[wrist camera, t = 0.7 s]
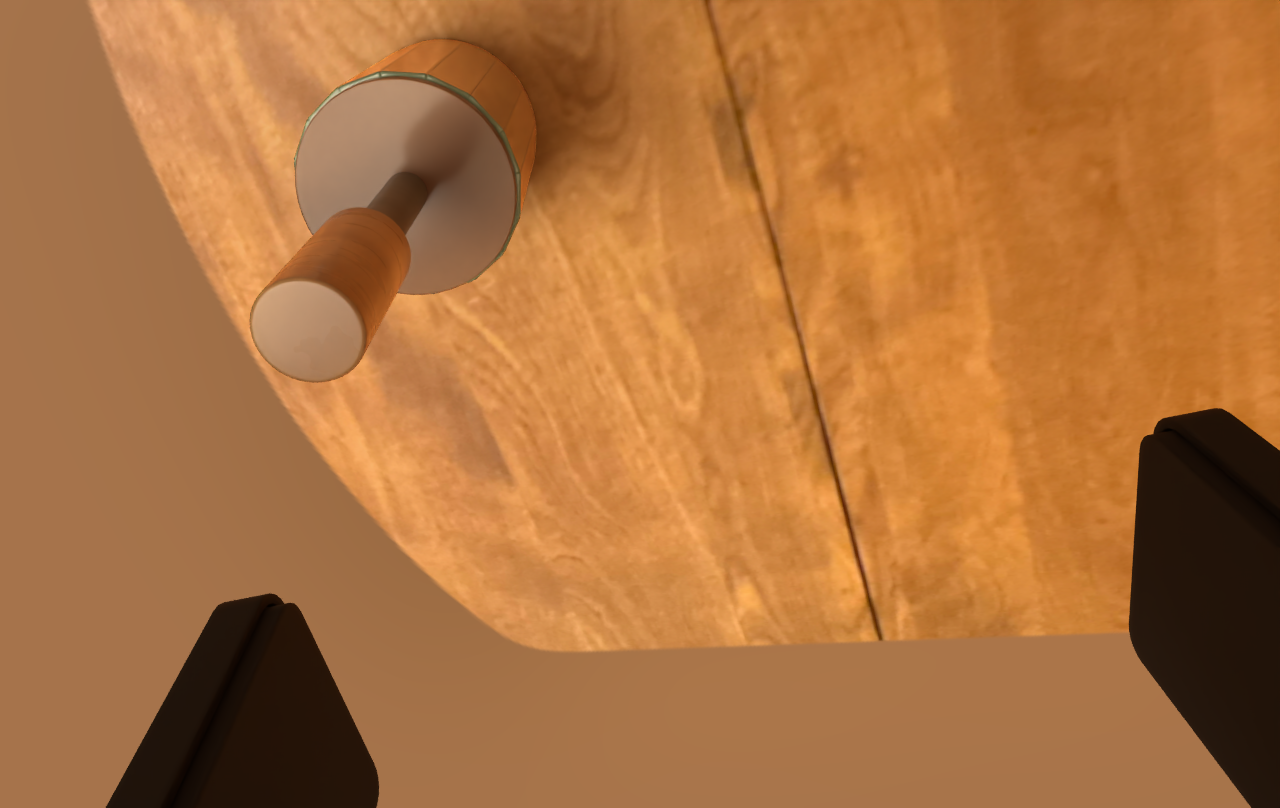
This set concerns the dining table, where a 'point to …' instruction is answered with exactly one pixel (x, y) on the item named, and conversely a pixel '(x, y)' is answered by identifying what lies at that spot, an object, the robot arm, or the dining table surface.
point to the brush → (383, 219)
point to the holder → (468, 97)
